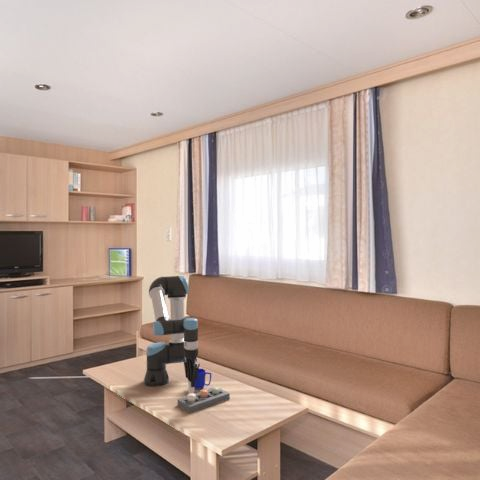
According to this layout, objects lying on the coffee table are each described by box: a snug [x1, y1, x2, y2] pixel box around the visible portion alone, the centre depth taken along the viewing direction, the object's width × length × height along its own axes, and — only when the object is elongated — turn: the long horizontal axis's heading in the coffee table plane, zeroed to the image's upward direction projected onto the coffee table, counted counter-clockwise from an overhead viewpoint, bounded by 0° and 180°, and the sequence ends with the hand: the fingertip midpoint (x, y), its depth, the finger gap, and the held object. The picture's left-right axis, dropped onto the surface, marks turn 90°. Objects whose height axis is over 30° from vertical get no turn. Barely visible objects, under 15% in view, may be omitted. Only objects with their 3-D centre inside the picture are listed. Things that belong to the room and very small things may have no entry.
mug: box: [194, 368, 212, 390], centre depth 231 cm, size 8×12×10 cm
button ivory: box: [186, 392, 196, 402], centre depth 207 cm, size 4×4×3 cm
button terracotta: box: [199, 388, 209, 398], centre depth 212 cm, size 4×4×3 cm
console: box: [177, 388, 231, 413], centre depth 212 cm, size 12×26×3 cm, turn 130°
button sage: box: [211, 386, 221, 395], centre depth 217 cm, size 4×4×3 cm
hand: (191, 392), depth 207 cm, fingers closed
